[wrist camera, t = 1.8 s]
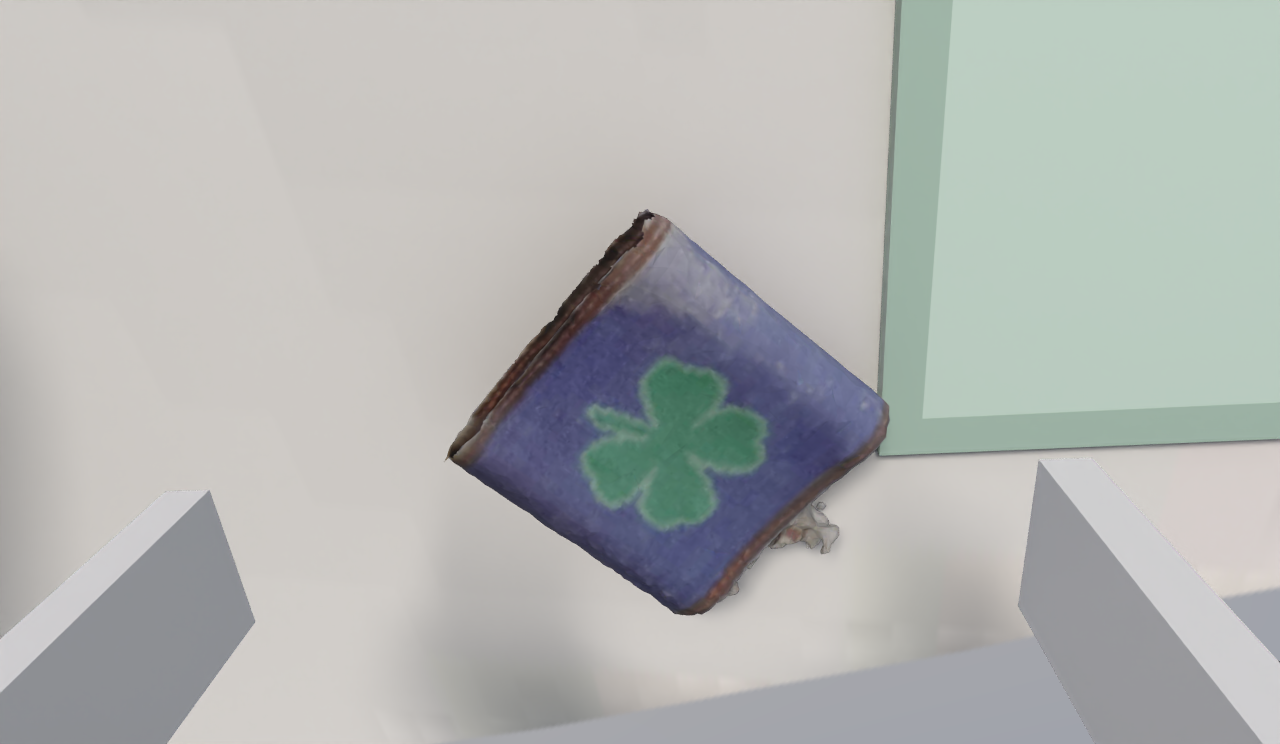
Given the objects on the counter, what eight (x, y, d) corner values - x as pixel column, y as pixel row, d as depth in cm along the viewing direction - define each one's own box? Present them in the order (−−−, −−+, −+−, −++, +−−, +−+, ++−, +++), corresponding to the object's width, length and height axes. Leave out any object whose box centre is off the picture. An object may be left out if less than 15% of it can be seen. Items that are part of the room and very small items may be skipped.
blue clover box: (652, 216, 19) (952, 463, 22) (649, 192, 21) (916, 414, 24) (435, 477, 21) (727, 665, 24) (456, 427, 24) (716, 602, 27)
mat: (875, 445, 25) (879, 455, 24) (907, -272, 17) (915, -281, 17) (1500, 418, 23) (1520, 428, 23) (1822, -376, 16) (1864, -389, 15)
